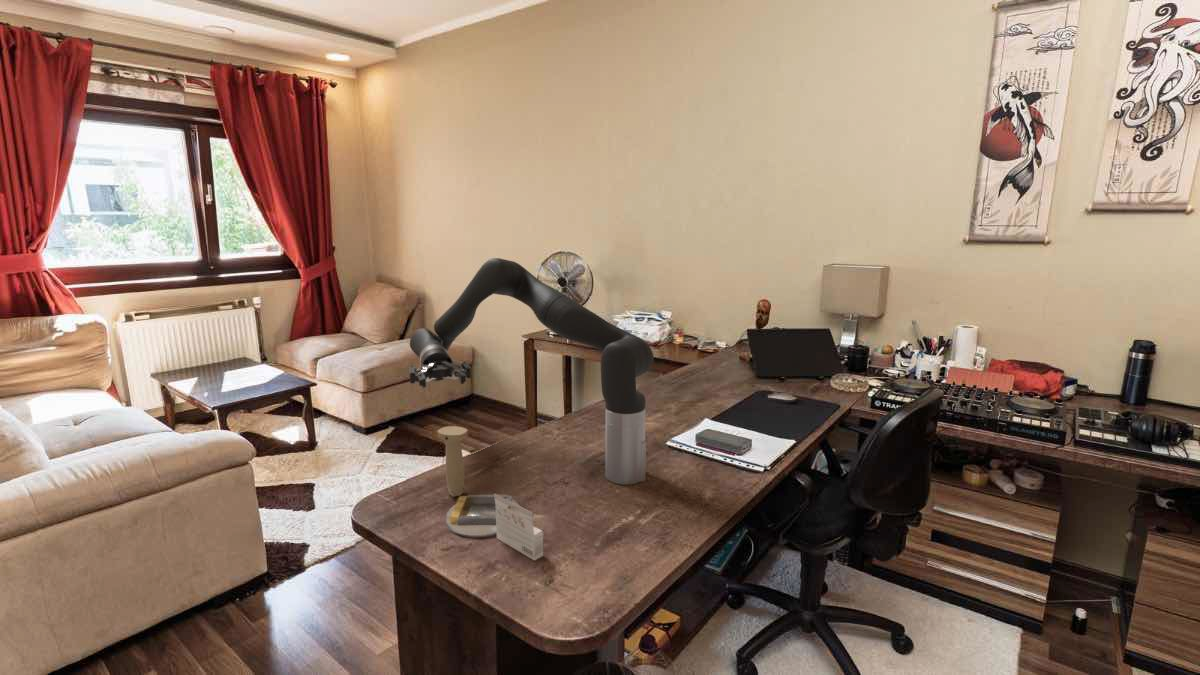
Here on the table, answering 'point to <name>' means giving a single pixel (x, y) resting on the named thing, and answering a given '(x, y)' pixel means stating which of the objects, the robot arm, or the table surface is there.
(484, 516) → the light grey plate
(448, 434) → the handle
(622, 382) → the robot arm
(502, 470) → the table surface
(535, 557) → the ink cartridge box
